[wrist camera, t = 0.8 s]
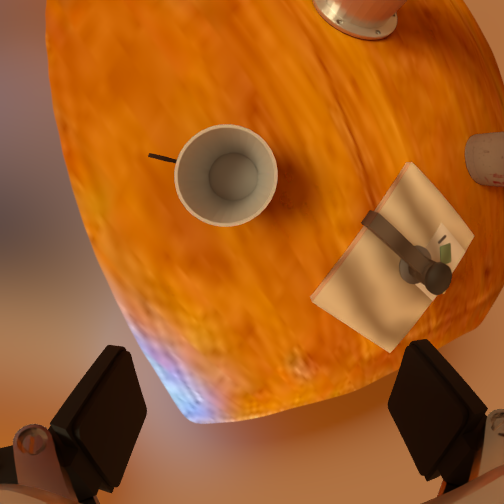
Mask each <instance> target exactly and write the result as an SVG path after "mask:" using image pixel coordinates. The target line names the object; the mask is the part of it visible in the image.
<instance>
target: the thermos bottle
mask: <svg viewBox="0 0 504 504" xmlns="http://www.w3.org/2000/svg"><path fill="white" fill-rule="evenodd" d="M465 160H466V165H467V169H468V171H469V174H470V175H471V177H472V178H473V179H474V181H476V182H477V183H479V184H481V185H489V186H498V187H504V132H495V133H485V134H476V135H473V136H471V137H470V138H469V140H468V142H467V144H466V148H465Z"/></svg>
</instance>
